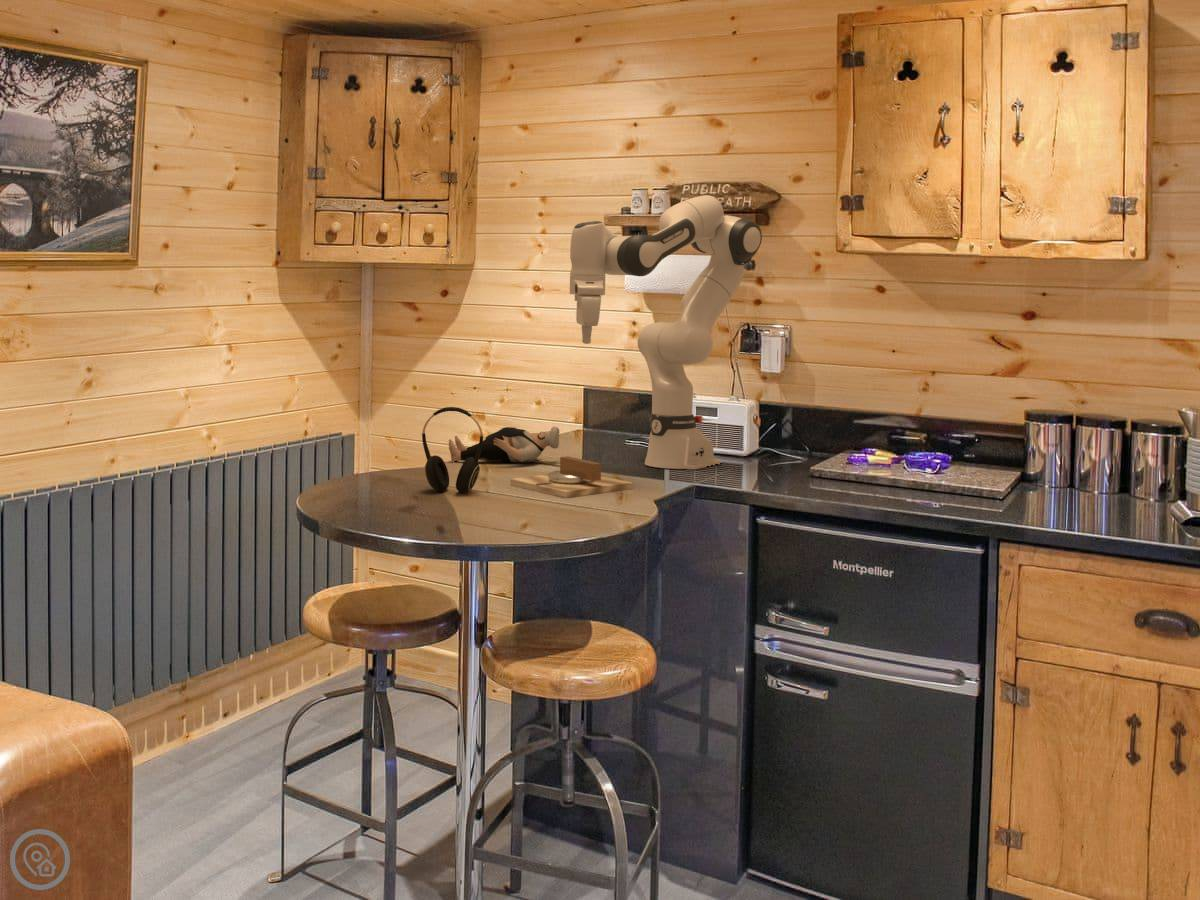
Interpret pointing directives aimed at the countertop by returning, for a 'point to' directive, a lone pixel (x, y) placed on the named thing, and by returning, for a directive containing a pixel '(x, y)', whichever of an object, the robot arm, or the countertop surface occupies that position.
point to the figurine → (508, 445)
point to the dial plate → (570, 486)
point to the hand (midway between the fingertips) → (586, 343)
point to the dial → (576, 471)
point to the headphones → (438, 469)
